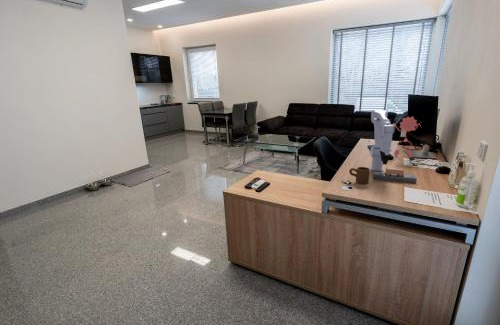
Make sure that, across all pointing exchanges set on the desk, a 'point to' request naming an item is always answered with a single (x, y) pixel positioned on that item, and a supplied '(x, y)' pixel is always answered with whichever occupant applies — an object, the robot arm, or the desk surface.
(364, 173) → the mug
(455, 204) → the desk surface
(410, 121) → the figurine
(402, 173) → the tan tabbed block
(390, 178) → the grey slotted tapered plate
